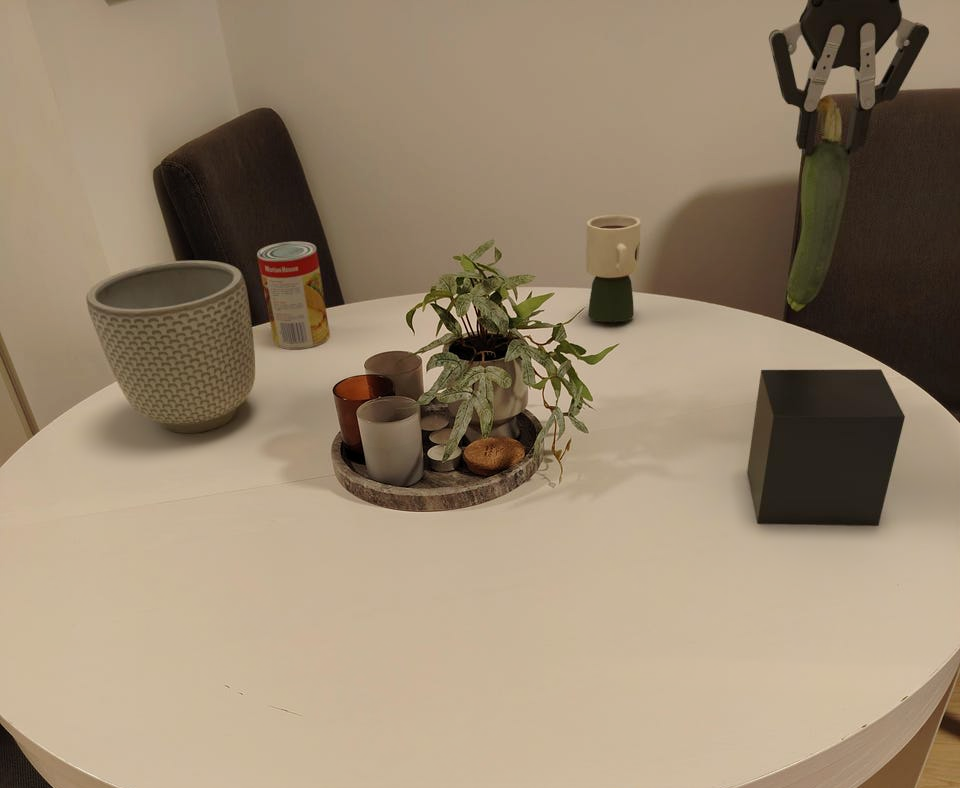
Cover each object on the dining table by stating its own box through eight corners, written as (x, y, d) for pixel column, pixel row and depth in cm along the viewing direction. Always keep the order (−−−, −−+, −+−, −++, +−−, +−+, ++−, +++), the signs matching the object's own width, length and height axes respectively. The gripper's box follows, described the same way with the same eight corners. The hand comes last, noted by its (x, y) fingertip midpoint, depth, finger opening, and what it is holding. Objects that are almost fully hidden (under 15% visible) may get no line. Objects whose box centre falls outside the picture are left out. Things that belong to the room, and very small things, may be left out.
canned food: (331, 326, 136) (318, 239, 129) (328, 347, 130) (313, 257, 123) (277, 330, 136) (260, 243, 129) (271, 351, 130) (253, 261, 123)
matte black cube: (855, 464, 97) (877, 361, 90) (878, 525, 88) (905, 416, 81) (745, 463, 99) (759, 362, 92) (757, 523, 90) (773, 416, 83)
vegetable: (824, 307, 100) (866, 91, 88) (821, 321, 97) (864, 100, 84) (781, 303, 101) (817, 90, 89) (776, 317, 98) (813, 99, 86)
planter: (109, 413, 117) (66, 282, 107) (239, 376, 124) (210, 249, 114) (153, 466, 105) (110, 324, 95) (294, 421, 112) (268, 285, 102)
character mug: (647, 330, 128) (652, 230, 120) (595, 336, 128) (598, 236, 120) (624, 303, 137) (628, 208, 129) (576, 309, 136) (577, 213, 128)
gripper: (782, -66, 77) (756, 165, 88) (966, -78, 75) (916, 160, 86) (771, -70, 83) (748, 147, 94) (942, -82, 81) (898, 141, 92)
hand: (829, 152), depth 90 cm, fingers closed on vegetable, 3 cm apart
